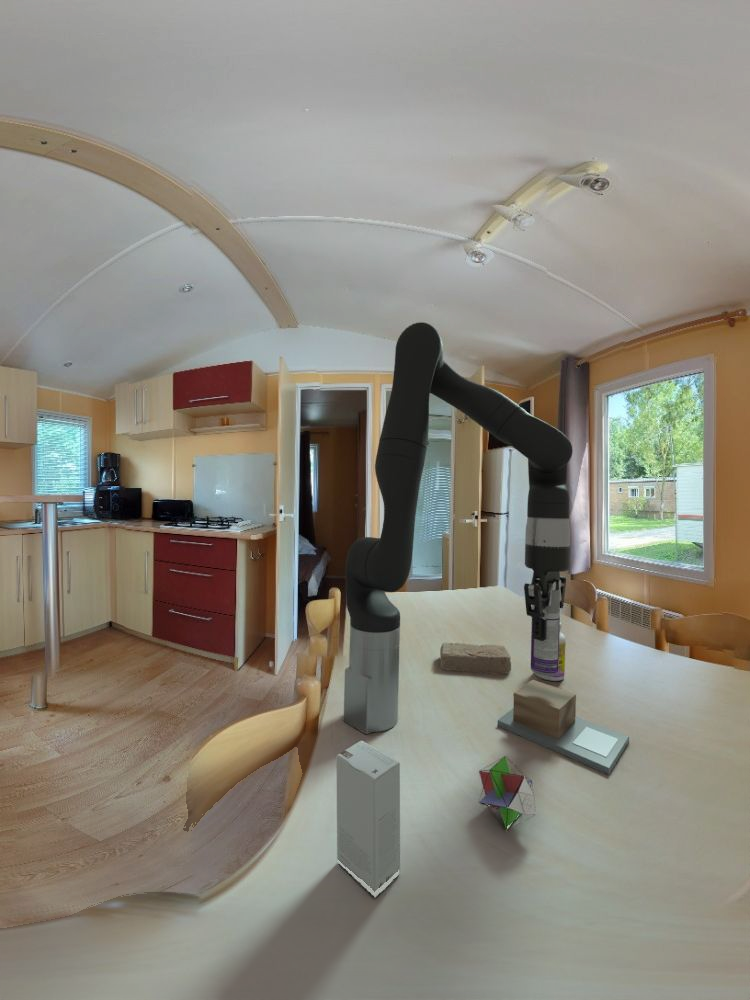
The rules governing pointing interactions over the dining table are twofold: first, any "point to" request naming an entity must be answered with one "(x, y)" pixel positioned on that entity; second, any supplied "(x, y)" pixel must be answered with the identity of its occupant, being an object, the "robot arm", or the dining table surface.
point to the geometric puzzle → (507, 792)
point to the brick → (475, 658)
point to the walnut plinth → (544, 708)
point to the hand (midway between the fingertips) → (545, 635)
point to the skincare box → (368, 813)
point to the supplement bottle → (561, 660)
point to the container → (548, 642)
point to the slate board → (577, 741)
